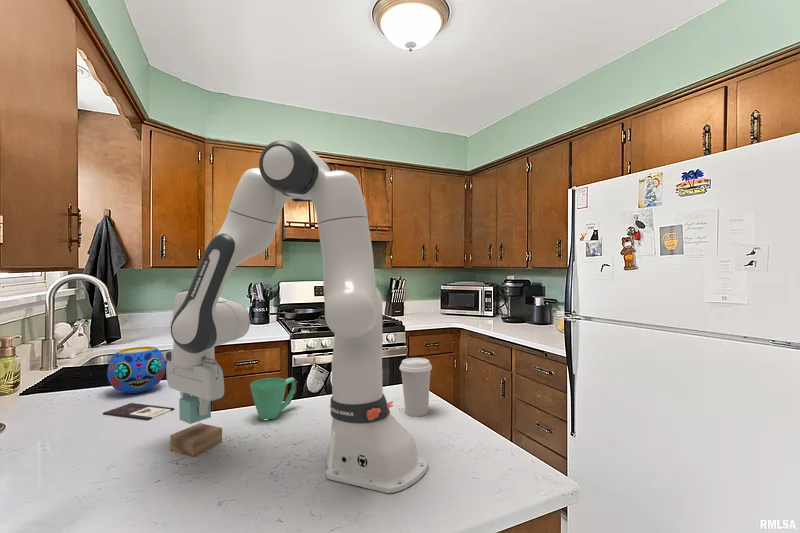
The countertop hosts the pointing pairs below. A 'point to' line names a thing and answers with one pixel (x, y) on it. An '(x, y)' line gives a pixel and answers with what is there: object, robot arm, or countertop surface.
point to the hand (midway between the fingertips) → (195, 411)
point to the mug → (272, 396)
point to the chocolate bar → (138, 411)
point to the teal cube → (191, 409)
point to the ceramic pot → (136, 369)
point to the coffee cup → (416, 385)
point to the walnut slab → (195, 439)
